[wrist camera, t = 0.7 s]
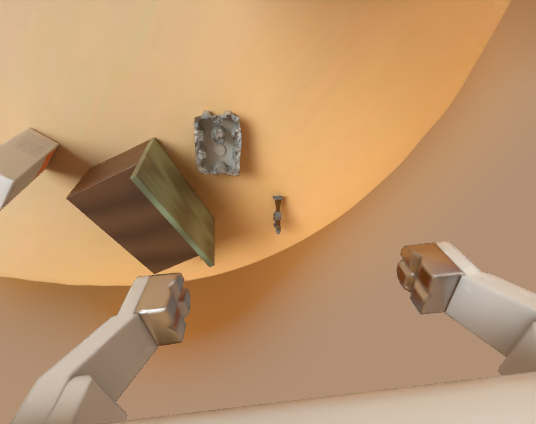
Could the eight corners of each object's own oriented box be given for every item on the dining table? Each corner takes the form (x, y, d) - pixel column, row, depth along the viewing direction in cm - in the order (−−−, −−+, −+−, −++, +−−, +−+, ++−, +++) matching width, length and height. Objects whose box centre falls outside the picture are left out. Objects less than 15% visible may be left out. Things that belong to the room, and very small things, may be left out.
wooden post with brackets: (270, 229, 58) (274, 235, 54) (270, 194, 56) (274, 197, 52) (278, 228, 58) (283, 235, 54) (278, 194, 57) (283, 197, 52)
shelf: (89, 168, 44) (51, 215, 34) (154, 137, 43) (136, 175, 32) (161, 241, 56) (150, 291, 46) (214, 219, 55) (214, 265, 45)
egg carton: (238, 168, 49) (240, 179, 46) (197, 167, 47) (196, 178, 44) (241, 110, 42) (243, 118, 39) (194, 106, 41) (192, 115, 38)
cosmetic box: (46, 169, 43) (-1, 213, 34) (15, 154, 41) (-45, 196, 31) (61, 143, 41) (15, 181, 31) (29, 125, 39) (-31, 161, 29)
